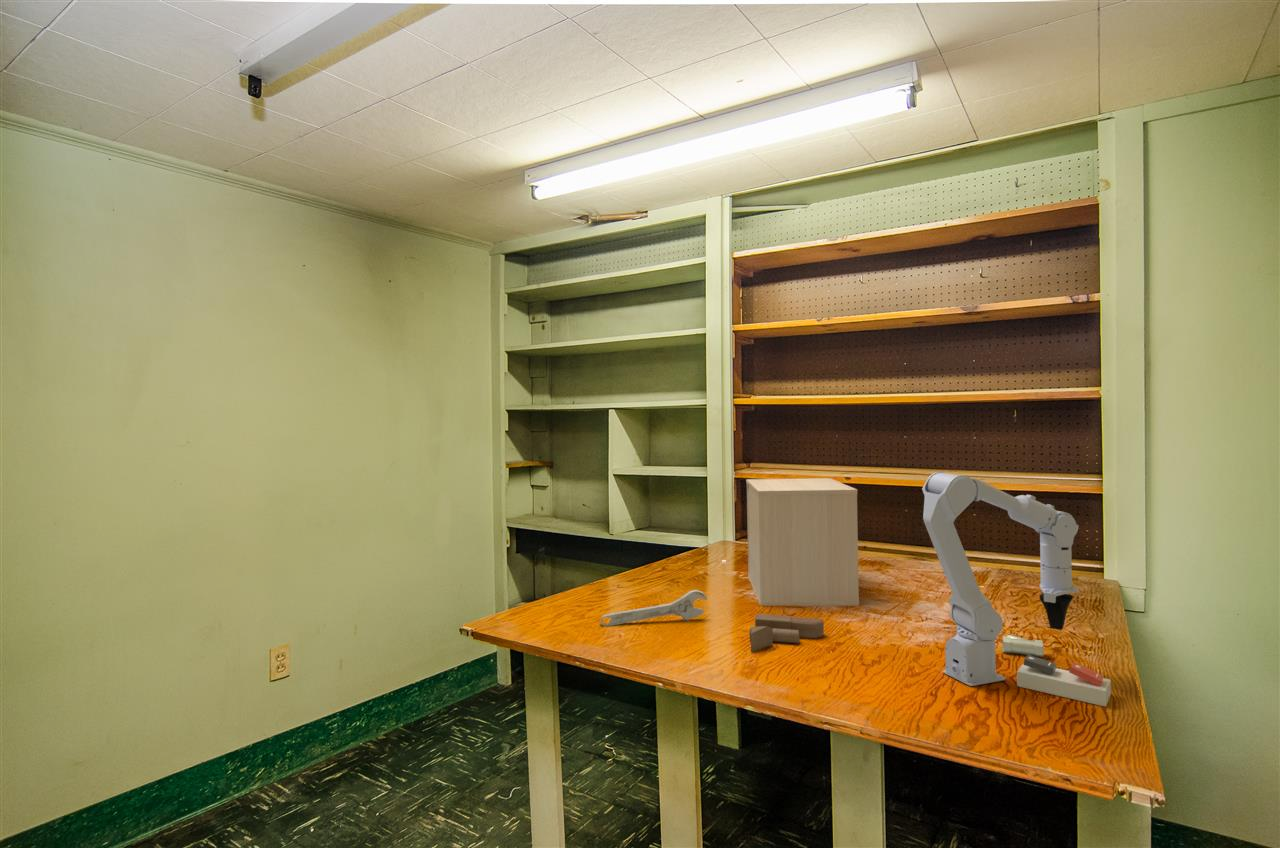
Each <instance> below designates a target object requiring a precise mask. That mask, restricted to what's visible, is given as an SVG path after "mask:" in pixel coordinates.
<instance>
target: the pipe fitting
mask: <svg viewBox="0 0 1280 848" xmlns="http://www.w3.org/2000/svg"><path fill="white" fill-rule="evenodd" d="M1044 650H1045V649H1044V641H1043V640H1039V639H1034V640H1030V639H1028V638H1023V637H1020V636H1017V635H1013V634H1009V635H1007V636H1005V635H1003V636H1002V652H1003V653H1006V654H1016V655H1017V654H1019V655H1026V656H1027V655H1031V656H1034V657H1037V658H1043V657H1044V655H1045V654H1044V653H1045V651H1044Z"/></svg>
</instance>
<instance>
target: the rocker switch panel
mask: <svg viewBox="0 0 1280 848" xmlns="http://www.w3.org/2000/svg"><path fill="white" fill-rule="evenodd" d="M1069 671H1070V670H1067V669H1062V668H1057V667H1056V670H1055V672H1054V673H1053V675H1052V674H1049V673H1046V672H1043V671H1041V670H1038V669H1035V668H1032V667H1029V666H1026V665H1024V662H1023V663H1022V665H1021V666H1020V667H1019V668H1018V670H1017V671H1016V686H1017V687H1020V688H1024V689H1029V690H1032V691H1037V692H1041V693H1045V694H1048V695H1049V694H1050V695H1054V696H1058V697H1063V698H1067V699H1071V700H1076V701H1080V702H1084V703H1088V704H1092V705H1096V706H1100V707H1101V706H1102V707H1107V706H1108V703H1109V701H1110V698H1111V695H1112V680H1111V679H1110V678H1103V680H1102V682H1101V685H1100V686H1097V685H1095V684H1093V683H1091V682H1089V681H1086V680H1084V679H1082V678H1080V677H1078V676H1076V675H1074V674H1072V673H1069Z"/></svg>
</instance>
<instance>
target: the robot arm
mask: <svg viewBox="0 0 1280 848" xmlns="http://www.w3.org/2000/svg"><path fill="white" fill-rule="evenodd" d="M921 490H922V493H923V495H924V502H923V513H922V514H923V517H922V520H923V523H924V525H925V527H926V531H927V534H928V535H929V538H930V540H931V542H932V543H931V544H932V546H933V549H934V550H935V553H936V556H937V557H938V561H939V564H940V566H941V569H942V571H943V573H944V575H945V578H946V582H947V583H948V587H949V589H950V591H951V593H952V594H951V595H950V596H949V598H948V602H949V603H950V618H951V620H952V621H953V623H954V624H955V625H956V630H957V633H956V634H955V635H954V636H953V637H951V638H949V639H948V640H946V642H945V649H944V654H945V659H944V660H945V661H944V662H945V669H943V670H942V673H943V674H945V675H947V676H948V677H952V678H953V679H955V680H958V681H959V682H961V683H963V684H965V685H967V686H970V687H974V686H975V687H976V686H979V685H984V684H990V683H995V682H997V683H998V682H1001V681H1006V679H1007V678H1006V677H1005V676H1003V675H1001V674H999V673H996V670H997V669H996V666H997V665H996V640H997V637H998V636H999V635H1000V634H1001V632H1002V630H1003V625H1004V623H1003V619H1002V616H1001V614H1000V613H998V612H997V610H995V609H994V607H993V605H992V603H991V602H990V600H989V599H988V598H987V597H986V596H985V595H984V593H983V592H982V590H980V587H979V584H978V582H977V580H976V577H975V575H974V571H973V569H972V567H971V565H970V562H969V559H968V557H967V554H966V552H965V549H964V547H963V545H962V541H961V539H960V536H959V533H958V531H957V529H956V527H955V526H956V525H955V524H954V523H955V520H956V519H957V517H958V516H960V514H962V512H964V511H965V509H967V507H968V506H970V504H971V503H972V502H973V501H974V502H979V501H983V502H985V503H988V504H990V505H993V506H995V507H998V508H1000V509H1003V510H1005V511H1007V514H1008V516H1009V518H1010V519H1011V520H1014V521H1015V522H1017V523H1020V524H1022V525H1024V526H1026V527H1029V528H1032V529H1034V531H1035V532H1036V533H1038V534H1039V545H1040V547H1039V551H1040V552H1039V553H1040V554H1039V555H1040V556H1039V557H1040V559H1039V560H1040V563H1039V565H1040V569H1039V571H1040V583H1039V589H1040V590H1041V591H1042V593H1040V594H1039V599H1040V602H1041V603H1042V605H1043V606H1044V609H1045V613H1046V616H1047V620H1048V624H1049V627H1050V629H1054V630H1059V631H1062V630H1063V628H1064V626H1065V622H1066V616H1067V611H1068V608H1069V606H1070V603H1071V602H1072V600H1073V599H1074V596H1073V595H1072V594H1071V593H1074V594H1077V593H1079V591H1080V590H1079V588H1078V587H1075V586H1073V579H1072V577H1073V576H1072V575H1073V570H1072V569H1073V568H1072V564H1073V562H1072V553H1073V552H1072V546H1073V545H1074V539H1075V536H1076V535H1077V533H1078V531H1079V526H1080V525H1079V524H1077V522H1076V520H1075V518H1074V517H1073V515H1072V514H1070V512H1069V513H1068V512H1065V511H1060V510H1056V508H1055V506H1054V505H1052V504H1049V503H1047V504H1045V503H1043V502H1041V501H1038V500H1036V499H1037V497H1036V496H1034V495H1031V494H1026V495H1024V494H1021V495H1017V496H1013V495H1011V494H1010V493H1007V492H1006V491H1003V490H1001V489H999V488H996V487H995V486H992V485H991V484H989V483H987V482H985V481H983V480H980V479H977V478H972V477H970V476H968V475H964V474H963V475H962V474H953V473H946V472H945V471H936V472H933V473H932V474H930V475H929V476H928V478H927V479H926V481H925V483H924V484H923V487H922V488H921Z"/></svg>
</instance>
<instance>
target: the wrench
mask: <svg viewBox="0 0 1280 848" xmlns="http://www.w3.org/2000/svg"><path fill="white" fill-rule="evenodd" d="M697 599H701V600H706V601H707V600H708V598H707V596H706V594H705V593H704V592H702V591H701V590H698V589H693V590H690V591H687V592H686V593H685V594H684V595H682V596H681V597H679V598H678V599H676V600H674V601H671V602H670V603H663V604H659V605H653V606H647V607H641V608H635V609H629V610H624V611H618V612H612V613H605V614H603V615H602V616H601V618H600V622H601V625H602V626H603V627H612V626H617V625H622V624H626V623H633V622H638V621H645V620H649V619H654V618H659V617H665V616H671V615H673V616H678V617H681V618H682V621H685V622H686V621H687V622H689V621H690V619H692V618H698V616H699V617H700V616H701V615H703V614H704V613H705V609H703V608H699V607H695V606H694V605H693V603H695V601H696V600H697ZM605 618H609V619H610V621H609V622H608V623H604V622H603V620H604V619H605Z"/></svg>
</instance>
